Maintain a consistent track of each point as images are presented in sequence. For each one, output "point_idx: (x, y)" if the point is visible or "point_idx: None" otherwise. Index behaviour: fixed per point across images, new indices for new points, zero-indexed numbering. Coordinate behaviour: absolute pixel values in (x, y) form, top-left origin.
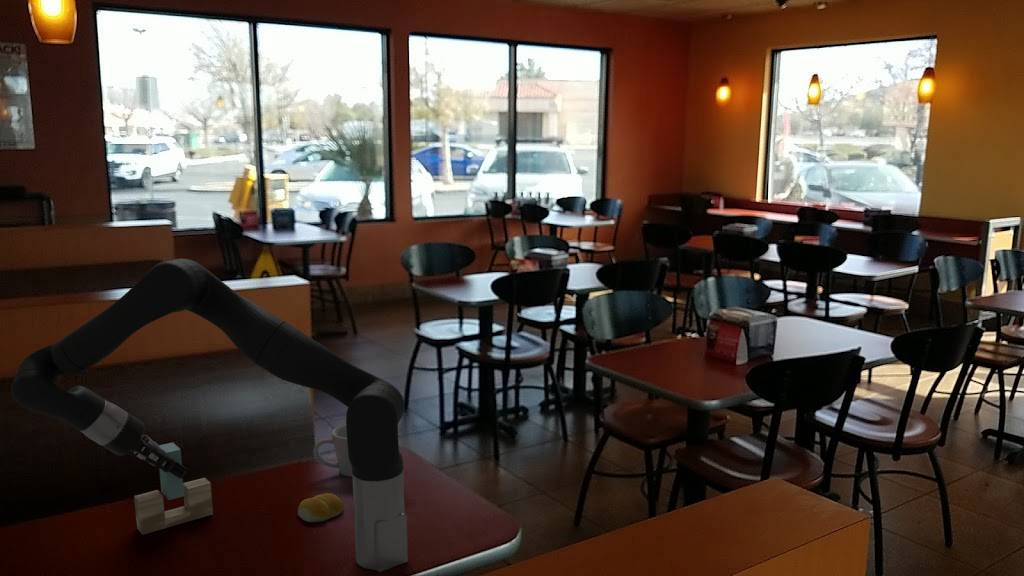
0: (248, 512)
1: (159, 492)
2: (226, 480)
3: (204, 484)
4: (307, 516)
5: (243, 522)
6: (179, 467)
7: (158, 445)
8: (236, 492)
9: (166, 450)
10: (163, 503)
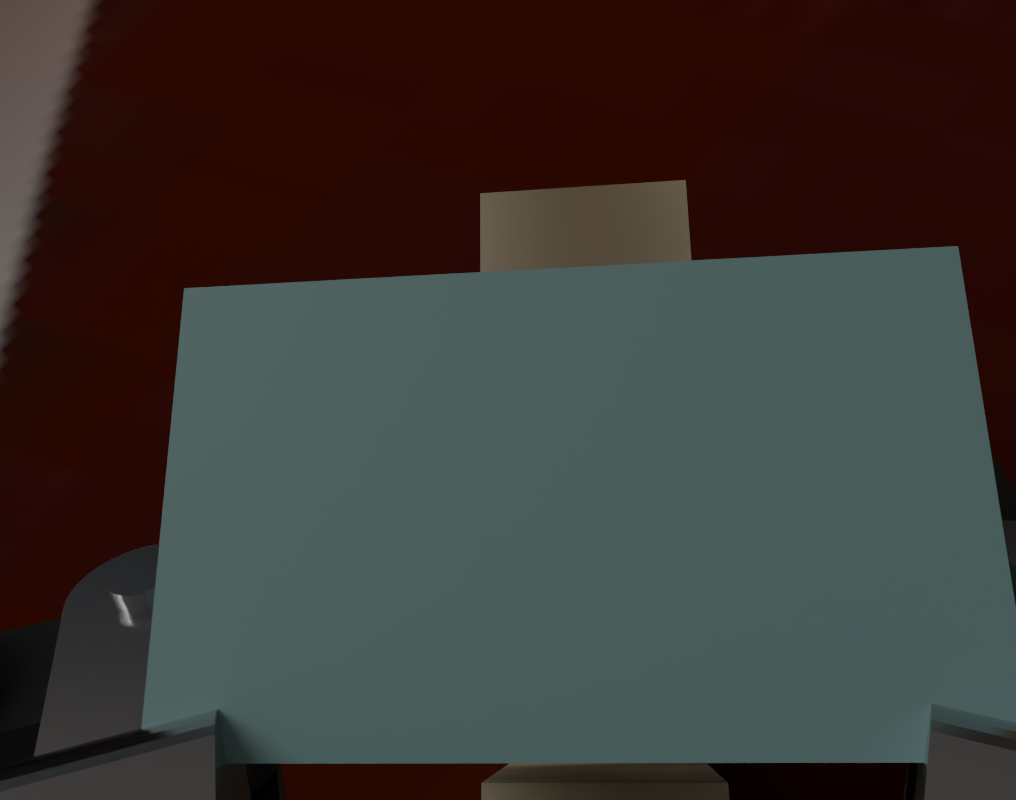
0: (807, 94)
1: (585, 788)
2: (100, 73)
3: (686, 246)
4: None
5: (977, 173)
6: (1001, 480)
7: (220, 760)
8: (372, 71)
9: (790, 641)
10: (717, 774)
